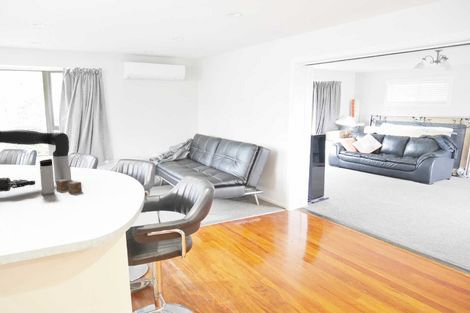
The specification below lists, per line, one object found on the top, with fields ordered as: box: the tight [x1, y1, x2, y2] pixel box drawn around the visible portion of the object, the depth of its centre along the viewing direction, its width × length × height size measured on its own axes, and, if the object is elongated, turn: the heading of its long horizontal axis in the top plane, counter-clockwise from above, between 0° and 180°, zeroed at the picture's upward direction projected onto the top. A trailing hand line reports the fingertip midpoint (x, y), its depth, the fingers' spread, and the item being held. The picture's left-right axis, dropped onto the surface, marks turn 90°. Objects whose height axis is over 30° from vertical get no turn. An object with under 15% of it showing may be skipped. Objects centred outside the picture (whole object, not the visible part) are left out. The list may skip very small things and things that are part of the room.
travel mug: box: [39, 158, 55, 196], centre depth 186 cm, size 6×7×20 cm
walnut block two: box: [55, 179, 70, 192], centre depth 196 cm, size 5×5×6 cm
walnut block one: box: [68, 181, 83, 195], centre depth 190 cm, size 5×5×6 cm
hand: (34, 182), depth 184 cm, fingers closed
